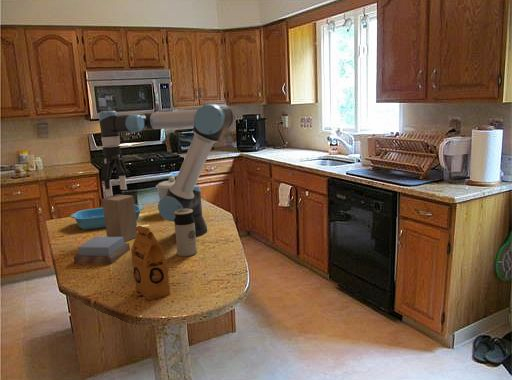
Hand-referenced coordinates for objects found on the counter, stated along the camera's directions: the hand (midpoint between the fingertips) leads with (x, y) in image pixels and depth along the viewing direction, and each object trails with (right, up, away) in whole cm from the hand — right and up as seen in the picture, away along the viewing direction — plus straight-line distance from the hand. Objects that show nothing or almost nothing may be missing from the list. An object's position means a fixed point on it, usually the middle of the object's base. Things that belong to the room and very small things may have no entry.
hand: (116, 192), depth 192 cm
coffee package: (+30, -33, -53) cm, 69 cm away
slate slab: (0, -24, -18) cm, 30 cm away
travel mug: (+35, -25, -19) cm, 47 cm away
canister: (+17, -12, +48) cm, 52 cm away
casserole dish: (-15, -17, +34) cm, 41 cm away
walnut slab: (0, -27, -17) cm, 32 cm away
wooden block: (+1, -22, +5) cm, 22 cm away
